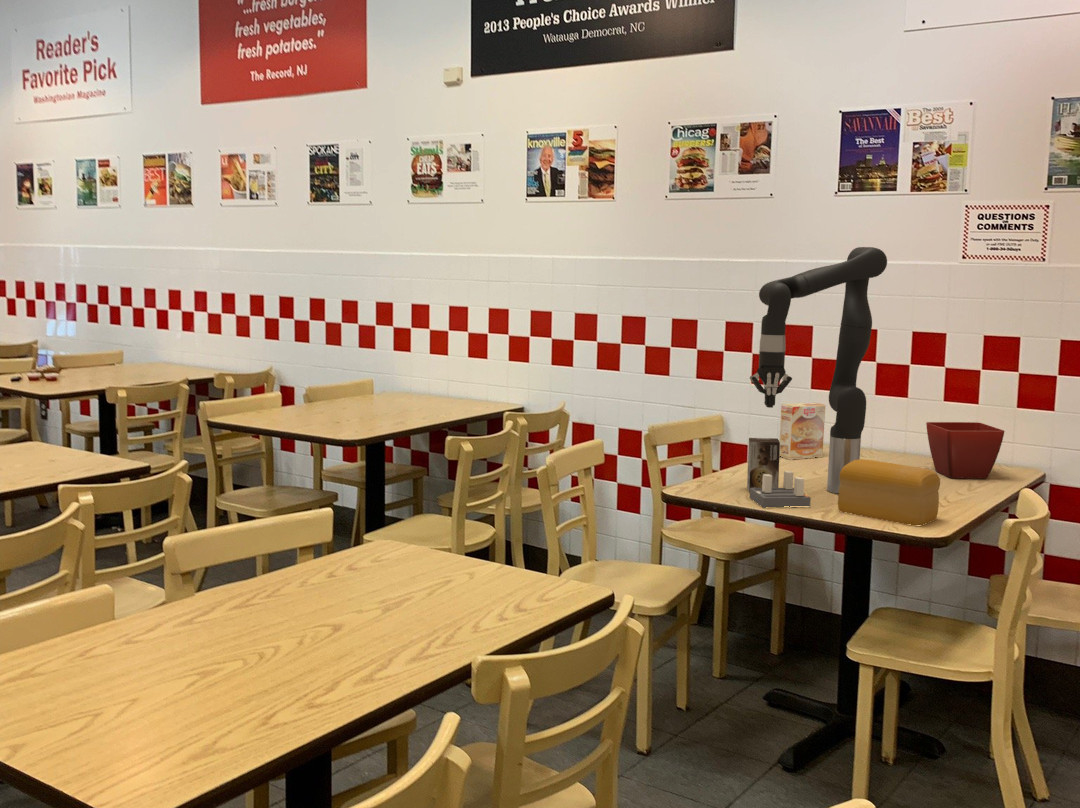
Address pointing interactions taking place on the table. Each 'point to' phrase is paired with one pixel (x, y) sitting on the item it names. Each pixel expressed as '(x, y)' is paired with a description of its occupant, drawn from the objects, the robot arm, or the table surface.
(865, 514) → the bread
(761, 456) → the coffee box
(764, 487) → the tab
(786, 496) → the switch panel
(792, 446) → the coffeecake box
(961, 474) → the plant pot
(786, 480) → the tab
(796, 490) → the tab
